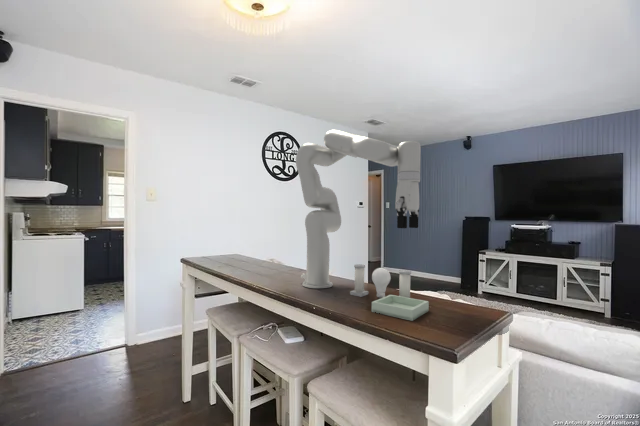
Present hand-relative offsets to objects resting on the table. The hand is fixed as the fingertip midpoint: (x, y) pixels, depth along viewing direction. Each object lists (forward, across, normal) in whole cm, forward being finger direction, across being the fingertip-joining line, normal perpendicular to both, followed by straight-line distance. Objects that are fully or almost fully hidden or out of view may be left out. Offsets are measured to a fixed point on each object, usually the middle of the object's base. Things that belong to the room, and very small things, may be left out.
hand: (408, 227), depth 109 cm
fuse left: (+26, +1, -19) cm, 32 cm away
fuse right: (+26, +1, -1) cm, 26 cm away
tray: (+26, +11, +2) cm, 28 cm away
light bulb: (+26, +1, -10) cm, 28 cm away
